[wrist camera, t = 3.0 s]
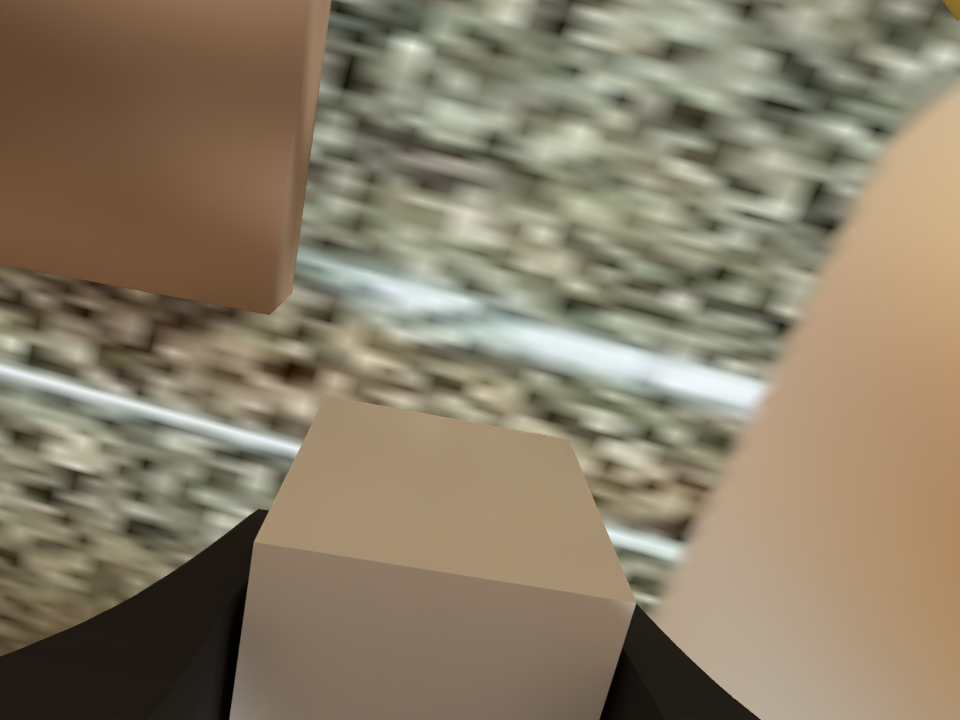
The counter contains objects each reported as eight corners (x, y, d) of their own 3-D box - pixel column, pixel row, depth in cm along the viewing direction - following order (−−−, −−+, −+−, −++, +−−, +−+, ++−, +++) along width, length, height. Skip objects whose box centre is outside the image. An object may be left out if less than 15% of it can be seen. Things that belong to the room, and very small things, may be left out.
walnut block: (294, 290, 20) (269, 314, 17) (-42, 226, 19) (-130, 240, 16) (342, -64, 17) (321, -105, 14) (-42, -156, 16) (-146, -221, 14)
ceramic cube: (515, 641, 15) (548, 882, 10) (292, 607, 14) (211, 843, 9) (568, 439, 13) (636, 602, 9) (325, 395, 13) (253, 542, 8)
